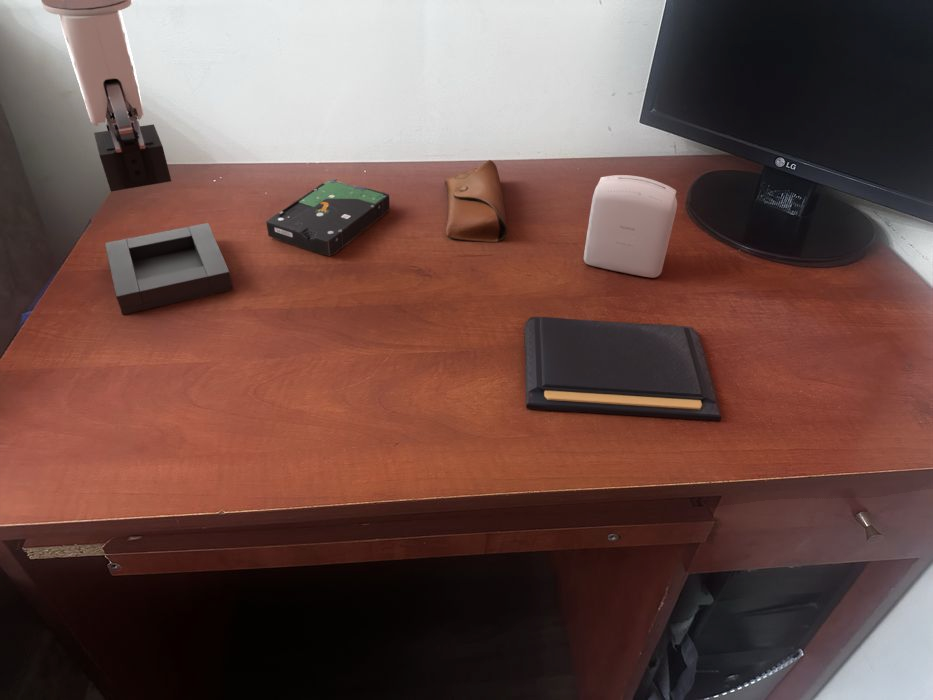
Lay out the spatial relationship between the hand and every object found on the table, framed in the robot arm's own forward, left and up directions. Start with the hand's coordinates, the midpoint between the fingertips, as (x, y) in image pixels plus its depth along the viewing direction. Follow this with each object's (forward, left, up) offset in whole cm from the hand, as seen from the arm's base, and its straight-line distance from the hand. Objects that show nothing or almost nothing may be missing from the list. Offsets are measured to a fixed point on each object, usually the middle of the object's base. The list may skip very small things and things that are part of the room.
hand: (136, 169), depth 76 cm
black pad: (0, 0, -1) cm, 1 cm away
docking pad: (+1, +2, -15) cm, 15 cm away
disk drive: (+22, +6, -15) cm, 28 cm away
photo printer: (+54, -19, -15) cm, 59 cm away
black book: (+41, -35, -15) cm, 56 cm away
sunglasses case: (+43, +2, -15) cm, 45 cm away
